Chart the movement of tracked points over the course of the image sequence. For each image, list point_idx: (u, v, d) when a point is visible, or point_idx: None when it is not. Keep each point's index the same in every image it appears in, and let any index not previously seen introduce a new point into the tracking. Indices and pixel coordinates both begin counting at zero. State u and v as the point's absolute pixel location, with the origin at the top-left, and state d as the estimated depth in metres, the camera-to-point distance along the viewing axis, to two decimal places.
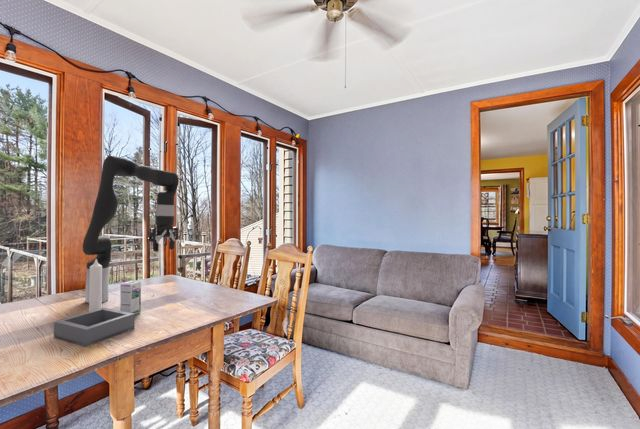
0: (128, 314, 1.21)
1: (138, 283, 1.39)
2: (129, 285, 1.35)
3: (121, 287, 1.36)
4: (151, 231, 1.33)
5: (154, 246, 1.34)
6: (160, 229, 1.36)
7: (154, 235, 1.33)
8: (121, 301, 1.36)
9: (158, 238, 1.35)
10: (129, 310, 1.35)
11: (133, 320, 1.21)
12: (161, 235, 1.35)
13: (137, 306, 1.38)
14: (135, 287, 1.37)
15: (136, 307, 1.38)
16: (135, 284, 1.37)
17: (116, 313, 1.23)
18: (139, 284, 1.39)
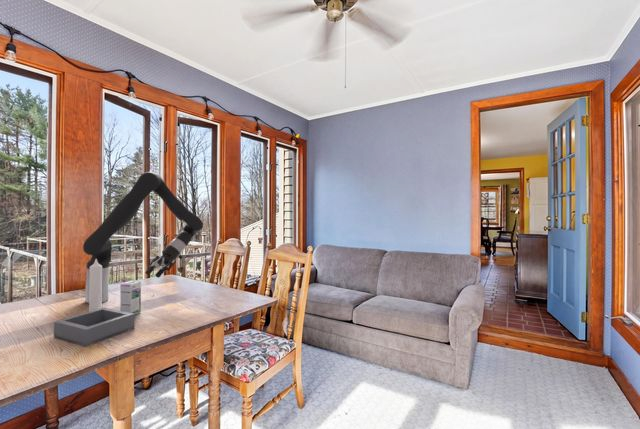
0: (128, 314, 1.21)
1: (138, 283, 1.39)
2: (129, 285, 1.35)
3: (121, 287, 1.36)
4: (172, 262, 1.48)
5: (161, 273, 1.45)
6: None
7: None
8: (121, 301, 1.36)
9: None
10: (129, 310, 1.35)
11: (133, 320, 1.21)
12: None
13: (137, 306, 1.38)
14: (135, 287, 1.37)
15: (136, 307, 1.38)
16: (135, 284, 1.37)
17: (116, 313, 1.23)
18: (139, 284, 1.39)
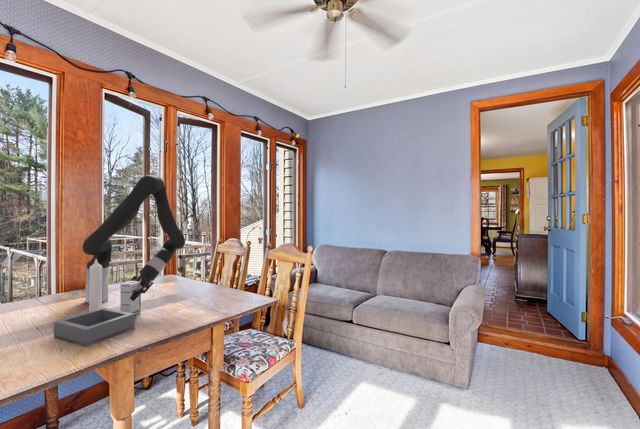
0: (128, 314, 1.21)
1: (138, 283, 1.39)
2: (129, 285, 1.35)
3: (121, 287, 1.36)
4: (149, 283, 1.39)
5: (136, 296, 1.36)
6: None
7: None
8: (121, 301, 1.36)
9: (143, 290, 1.39)
10: (129, 310, 1.35)
11: (133, 320, 1.21)
12: (145, 287, 1.41)
13: (137, 306, 1.38)
14: (135, 287, 1.37)
15: (136, 307, 1.38)
16: (135, 284, 1.37)
17: (116, 313, 1.23)
18: None
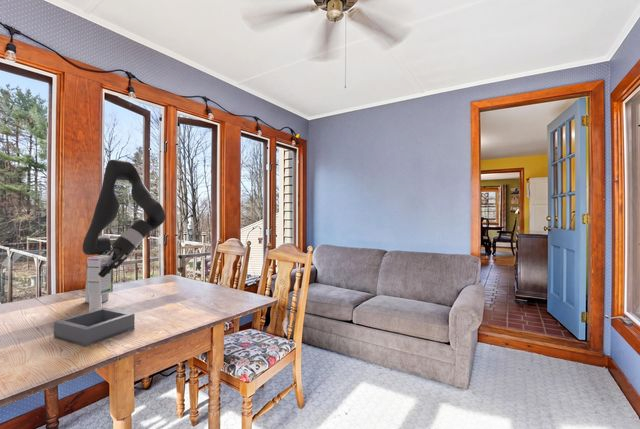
0: (128, 314, 1.21)
1: (109, 257, 1.19)
2: (98, 259, 1.14)
3: (88, 261, 1.15)
4: (122, 257, 1.18)
5: (106, 271, 1.15)
6: None
7: None
8: (88, 278, 1.15)
9: (115, 265, 1.18)
10: (98, 288, 1.15)
11: (133, 320, 1.21)
12: (117, 263, 1.20)
13: (108, 284, 1.18)
14: (106, 262, 1.17)
15: (107, 285, 1.17)
16: (105, 258, 1.17)
17: (116, 313, 1.23)
18: None
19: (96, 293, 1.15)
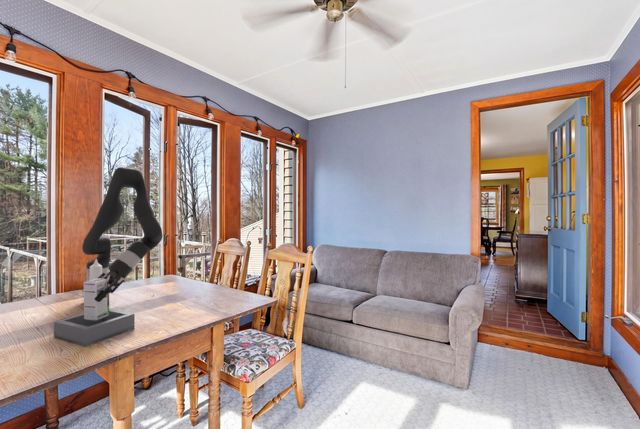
0: (128, 314, 1.21)
1: None
2: (94, 283, 1.13)
3: (84, 286, 1.14)
4: (118, 281, 1.17)
5: (103, 296, 1.14)
6: None
7: None
8: (85, 302, 1.14)
9: (111, 289, 1.17)
10: (94, 313, 1.14)
11: (133, 320, 1.21)
12: (114, 286, 1.19)
13: (104, 308, 1.17)
14: (102, 286, 1.16)
15: (103, 309, 1.16)
16: (101, 282, 1.16)
17: (116, 313, 1.23)
18: None
19: (92, 318, 1.14)
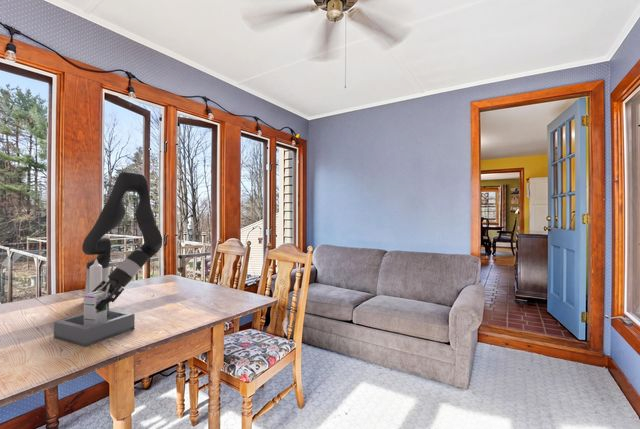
0: (128, 314, 1.21)
1: None
2: (93, 296, 1.14)
3: (84, 298, 1.15)
4: (119, 290, 1.17)
5: (103, 305, 1.14)
6: None
7: None
8: (84, 315, 1.15)
9: (112, 297, 1.17)
10: None
11: (133, 320, 1.21)
12: (114, 295, 1.19)
13: (104, 321, 1.17)
14: (102, 299, 1.16)
15: None
16: (101, 295, 1.16)
17: (116, 313, 1.23)
18: None
19: None
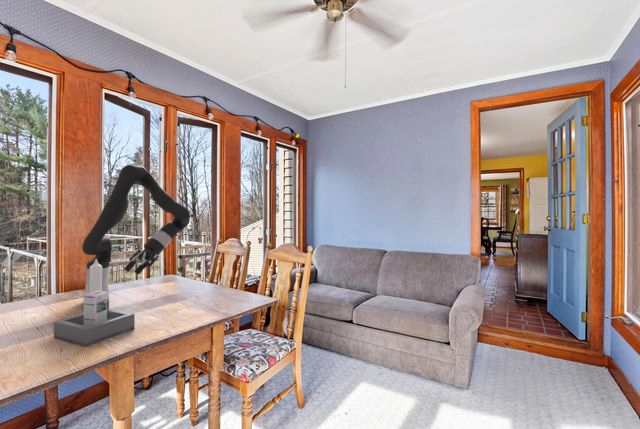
0: (128, 314, 1.21)
1: (106, 293, 1.18)
2: (93, 296, 1.14)
3: (84, 298, 1.15)
4: (155, 256, 1.30)
5: (141, 269, 1.27)
6: None
7: None
8: (85, 315, 1.15)
9: None
10: None
11: (133, 320, 1.21)
12: (150, 261, 1.32)
13: (104, 321, 1.17)
14: (102, 299, 1.16)
15: None
16: (101, 295, 1.16)
17: (116, 313, 1.23)
18: (107, 294, 1.18)
19: None
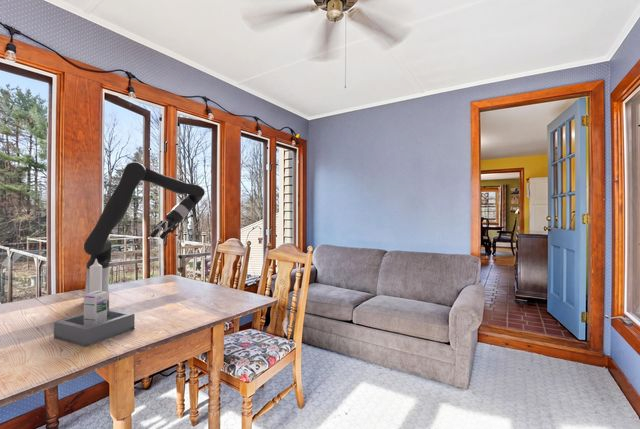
0: (128, 314, 1.21)
1: (106, 293, 1.18)
2: (93, 296, 1.14)
3: (84, 298, 1.15)
4: (176, 224, 1.54)
5: (165, 234, 1.51)
6: None
7: None
8: (85, 315, 1.15)
9: None
10: None
11: (133, 320, 1.21)
12: (171, 229, 1.56)
13: (104, 321, 1.17)
14: (102, 299, 1.16)
15: None
16: (101, 295, 1.16)
17: (116, 313, 1.23)
18: (107, 294, 1.18)
19: None
